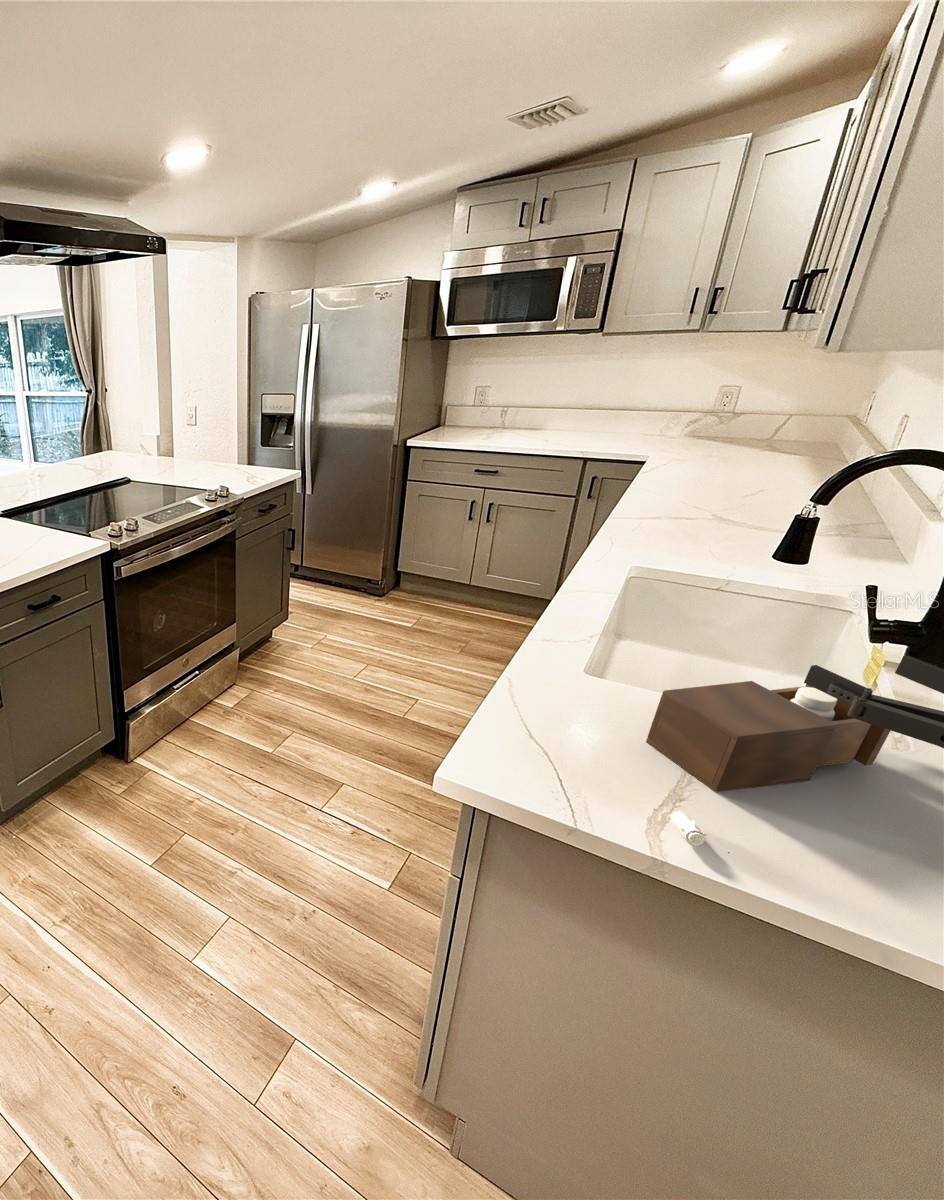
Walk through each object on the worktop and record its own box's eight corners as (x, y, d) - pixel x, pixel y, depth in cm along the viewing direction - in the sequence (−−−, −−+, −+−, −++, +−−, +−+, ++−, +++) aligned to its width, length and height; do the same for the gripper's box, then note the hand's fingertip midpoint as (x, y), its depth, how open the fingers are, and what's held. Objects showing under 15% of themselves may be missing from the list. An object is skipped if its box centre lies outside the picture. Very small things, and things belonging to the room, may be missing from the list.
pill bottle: (785, 728, 94) (806, 682, 91) (826, 746, 90) (850, 698, 87) (766, 736, 93) (787, 690, 89) (807, 755, 89) (830, 706, 85)
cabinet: (730, 731, 97) (751, 680, 94) (810, 780, 87) (837, 725, 83) (645, 741, 96) (663, 690, 93) (715, 792, 86) (738, 736, 82)
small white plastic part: (706, 828, 80) (713, 810, 79) (699, 855, 76) (707, 836, 75) (671, 815, 83) (678, 797, 81) (663, 840, 79) (670, 821, 78)
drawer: (827, 719, 98) (848, 677, 94) (908, 760, 88) (934, 715, 85) (716, 731, 96) (733, 689, 93) (786, 775, 87) (807, 730, 84)
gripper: (963, 811, 65) (761, 701, 84) (1171, 786, 67) (926, 683, 86) (999, 754, 62) (781, 653, 81) (1217, 729, 63) (952, 636, 83)
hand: (855, 668), depth 84 cm, fingers open, 13 cm apart
